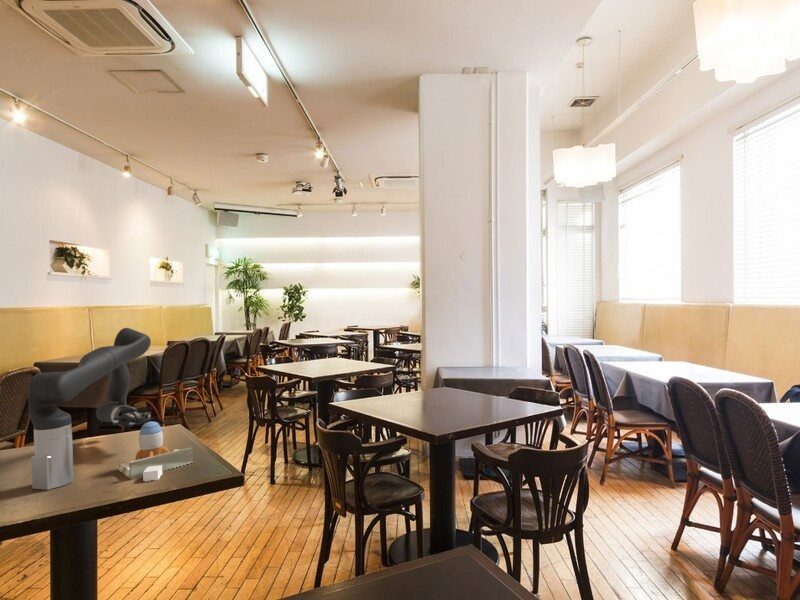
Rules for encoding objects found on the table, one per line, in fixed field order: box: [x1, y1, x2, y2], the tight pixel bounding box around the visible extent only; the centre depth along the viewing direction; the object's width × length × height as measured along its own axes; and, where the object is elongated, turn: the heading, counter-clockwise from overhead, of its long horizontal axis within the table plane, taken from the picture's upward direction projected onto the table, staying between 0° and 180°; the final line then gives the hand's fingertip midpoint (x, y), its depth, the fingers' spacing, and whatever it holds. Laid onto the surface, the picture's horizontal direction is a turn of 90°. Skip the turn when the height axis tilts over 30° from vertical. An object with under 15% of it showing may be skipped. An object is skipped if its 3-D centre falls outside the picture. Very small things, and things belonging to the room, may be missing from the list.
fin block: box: [142, 465, 163, 482], centre depth 146 cm, size 5×4×3 cm
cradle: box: [118, 446, 194, 480], centre depth 156 cm, size 13×18×5 cm
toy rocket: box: [134, 421, 170, 461], centre depth 158 cm, size 10×11×15 cm
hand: (140, 420), depth 169 cm, fingers closed
